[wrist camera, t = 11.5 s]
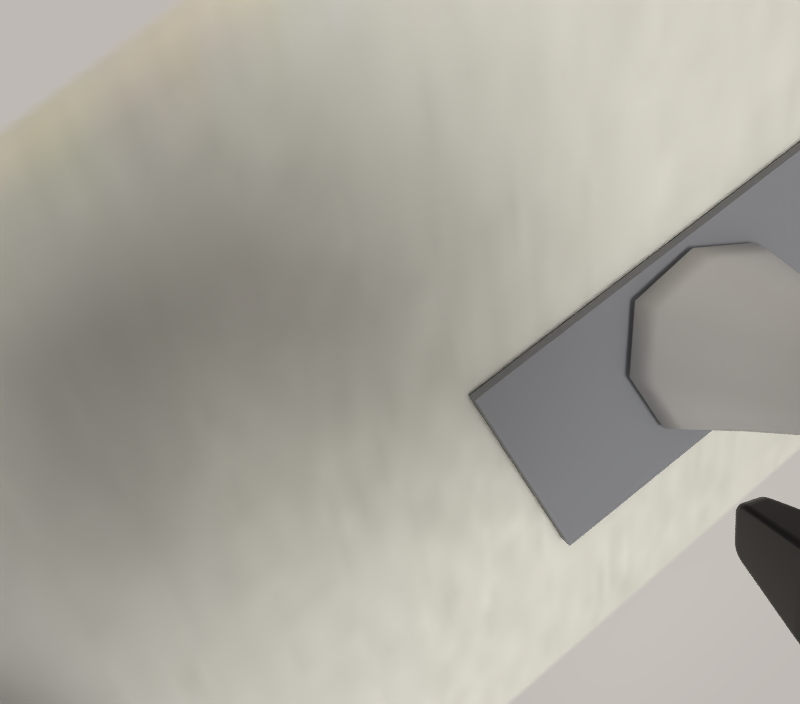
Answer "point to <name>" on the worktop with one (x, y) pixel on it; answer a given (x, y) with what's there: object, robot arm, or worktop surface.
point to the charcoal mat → (619, 371)
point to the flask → (721, 342)
